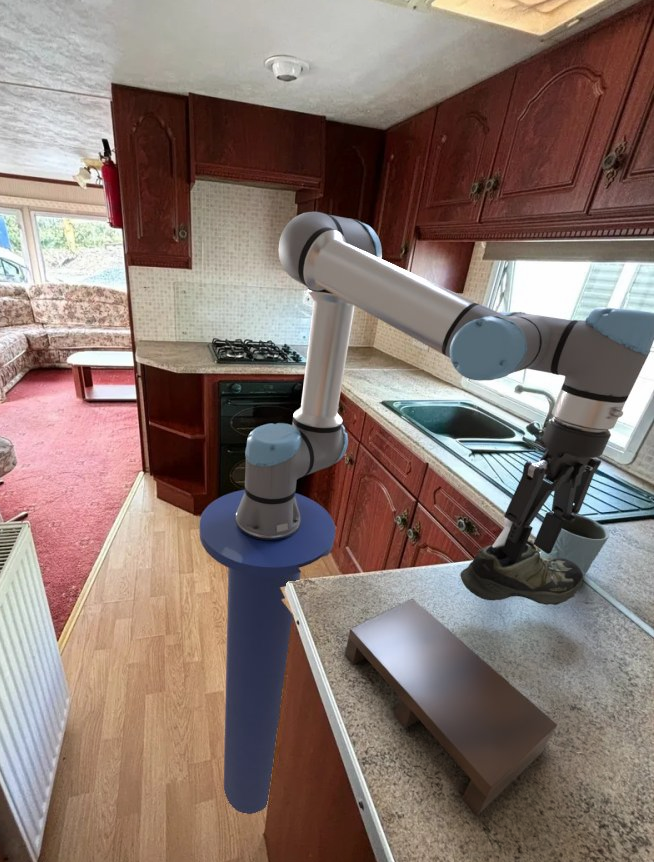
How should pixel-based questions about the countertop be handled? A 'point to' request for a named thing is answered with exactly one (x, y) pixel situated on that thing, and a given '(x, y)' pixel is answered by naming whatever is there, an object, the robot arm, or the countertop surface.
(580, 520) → the embossed plant pot
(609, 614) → the countertop surface
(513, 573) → the hiking shoe
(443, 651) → the shoe shelf
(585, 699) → the countertop surface
